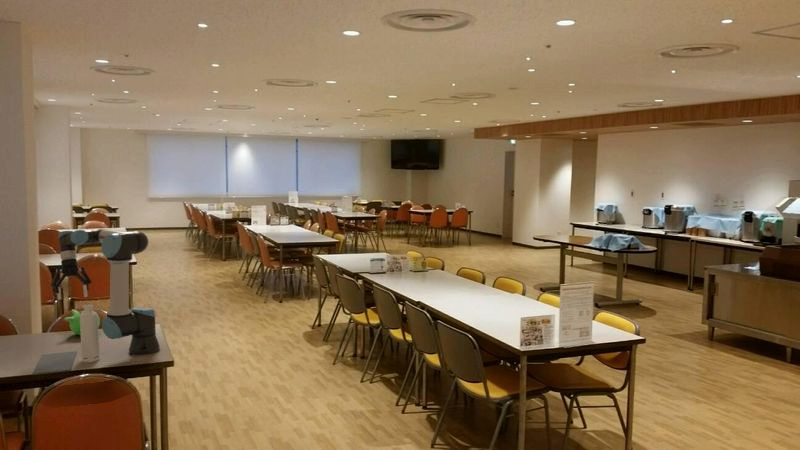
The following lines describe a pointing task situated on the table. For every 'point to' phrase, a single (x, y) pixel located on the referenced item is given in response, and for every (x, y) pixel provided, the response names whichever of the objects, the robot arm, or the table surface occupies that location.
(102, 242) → the robot arm
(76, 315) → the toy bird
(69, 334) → the table surface
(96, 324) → the bottle
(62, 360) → the mat
